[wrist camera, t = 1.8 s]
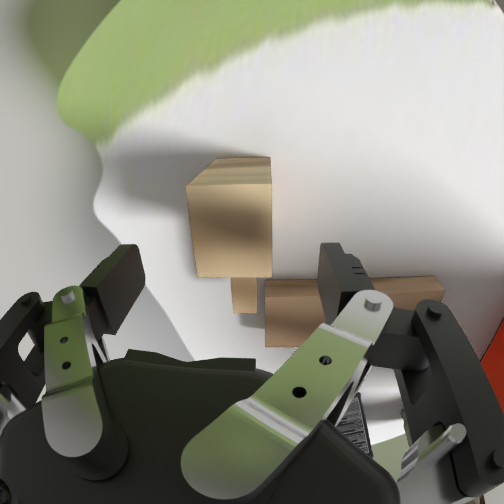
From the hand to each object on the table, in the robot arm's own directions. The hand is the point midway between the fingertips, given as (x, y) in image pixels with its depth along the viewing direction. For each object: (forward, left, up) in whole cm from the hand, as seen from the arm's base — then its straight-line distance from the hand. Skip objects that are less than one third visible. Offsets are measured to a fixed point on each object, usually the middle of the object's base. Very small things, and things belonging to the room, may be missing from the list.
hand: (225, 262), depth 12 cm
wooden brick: (+3, 0, -10) cm, 11 cm away
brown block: (+11, +10, -10) cm, 18 cm away
